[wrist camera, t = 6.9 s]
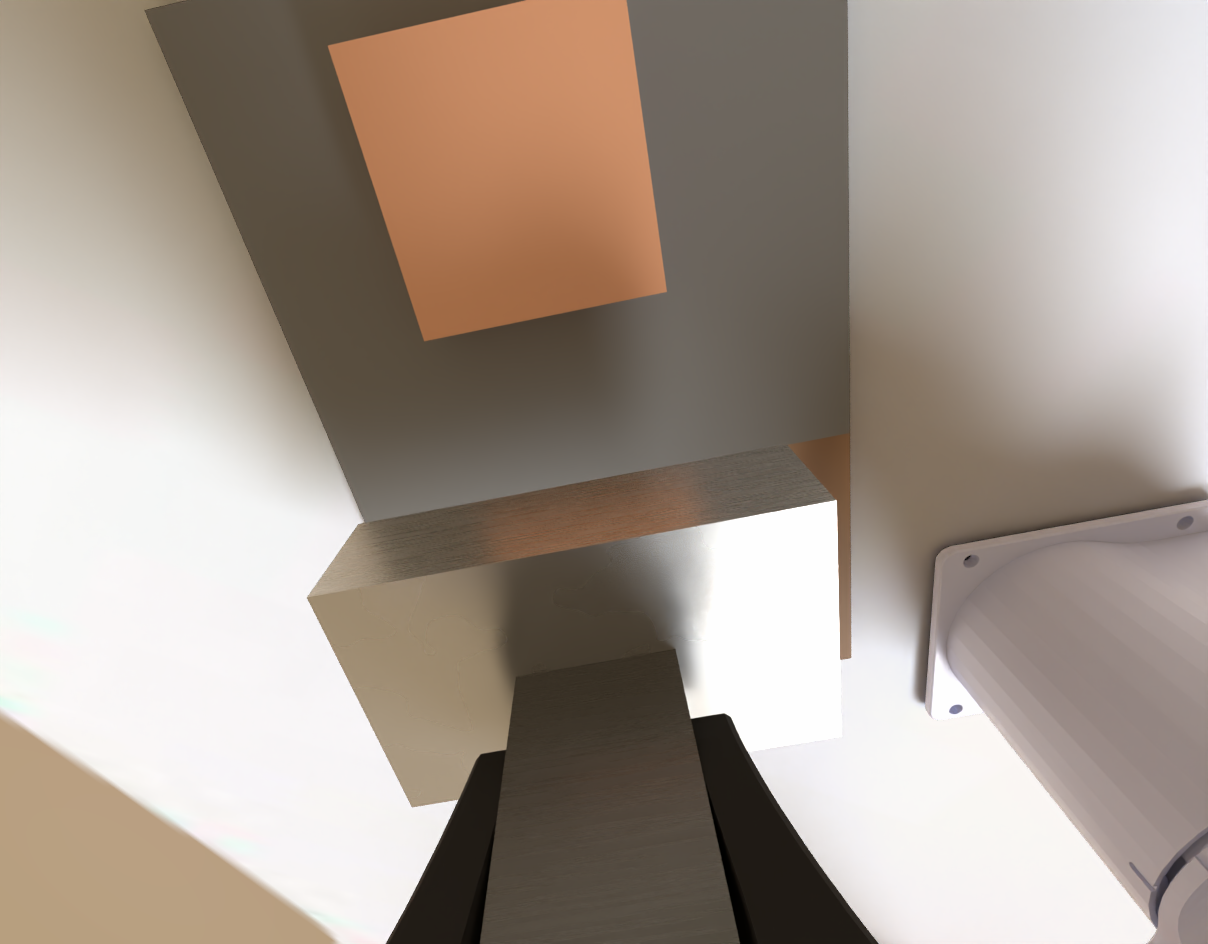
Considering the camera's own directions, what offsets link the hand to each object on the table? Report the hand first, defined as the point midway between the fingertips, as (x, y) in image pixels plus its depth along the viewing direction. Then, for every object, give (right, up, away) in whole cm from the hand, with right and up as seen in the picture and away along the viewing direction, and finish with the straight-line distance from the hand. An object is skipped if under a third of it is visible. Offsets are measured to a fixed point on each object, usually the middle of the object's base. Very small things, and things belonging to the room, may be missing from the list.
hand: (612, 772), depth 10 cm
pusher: (0, +3, +3) cm, 4 cm away
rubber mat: (-1, +11, +5) cm, 12 cm away
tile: (-2, +9, +5) cm, 10 cm away
